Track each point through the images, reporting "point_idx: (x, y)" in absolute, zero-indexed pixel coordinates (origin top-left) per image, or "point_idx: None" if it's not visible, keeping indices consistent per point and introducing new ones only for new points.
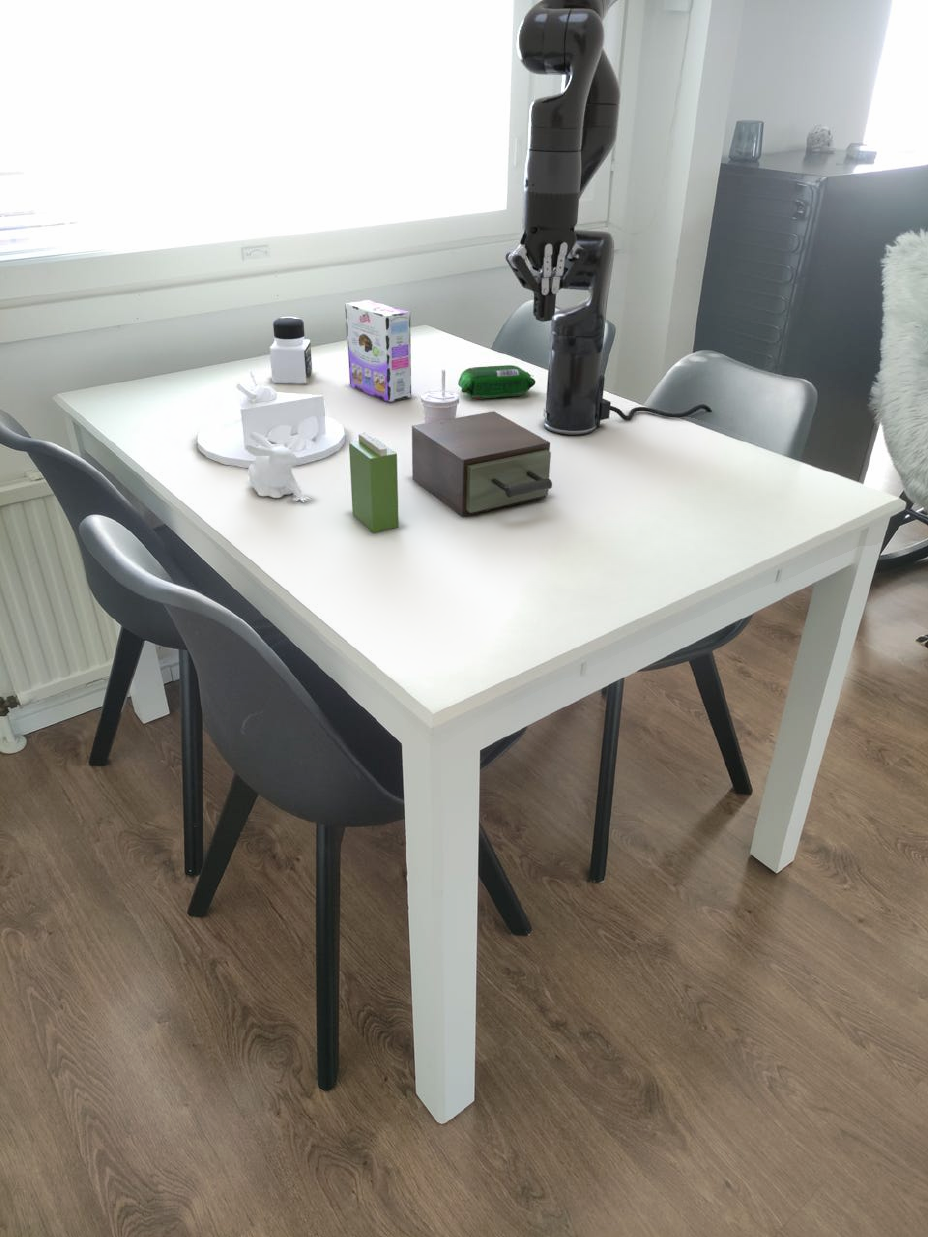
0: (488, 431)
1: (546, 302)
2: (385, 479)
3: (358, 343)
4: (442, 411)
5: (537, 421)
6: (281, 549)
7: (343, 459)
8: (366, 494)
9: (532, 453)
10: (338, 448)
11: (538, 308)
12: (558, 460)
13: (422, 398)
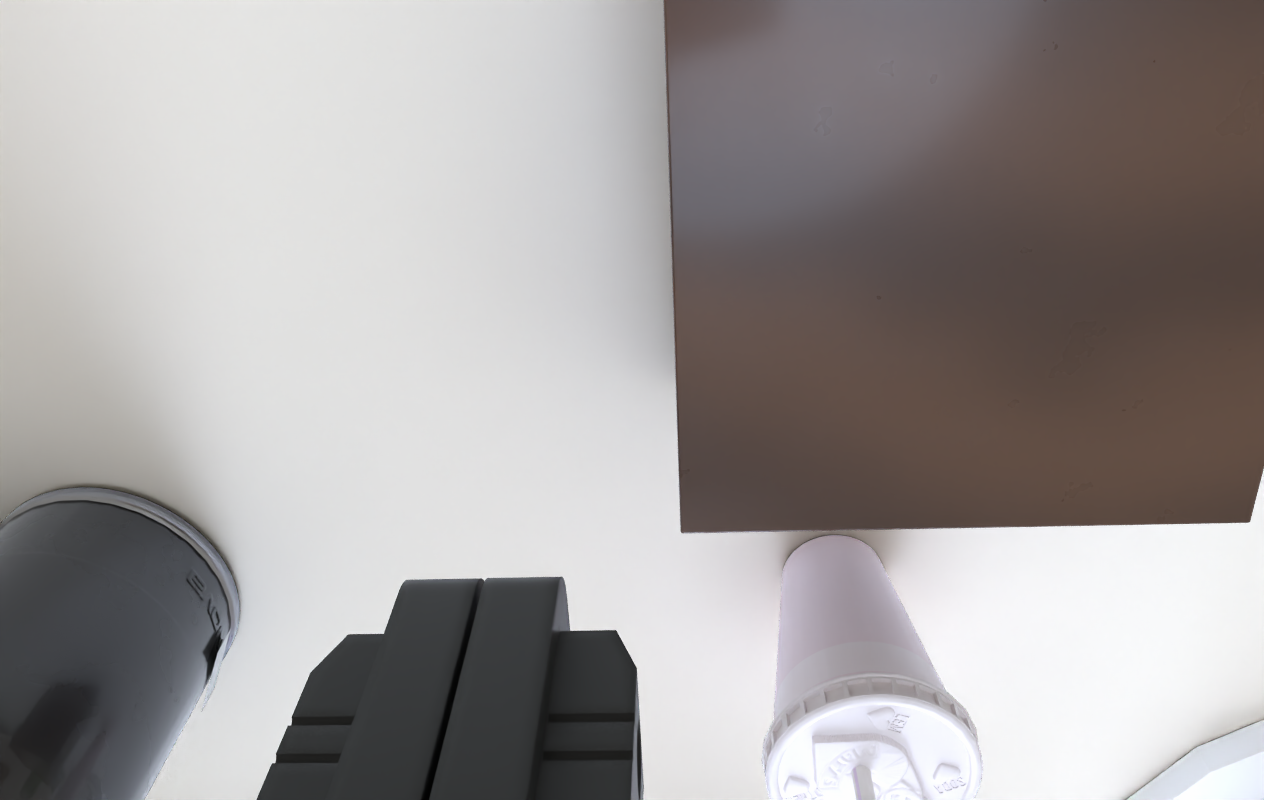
0: (916, 257)
1: (490, 780)
2: None
3: None
4: (903, 670)
5: (238, 691)
6: None
7: (1242, 666)
8: None
9: None
10: (1203, 751)
11: (631, 745)
12: (355, 276)
13: (979, 784)
